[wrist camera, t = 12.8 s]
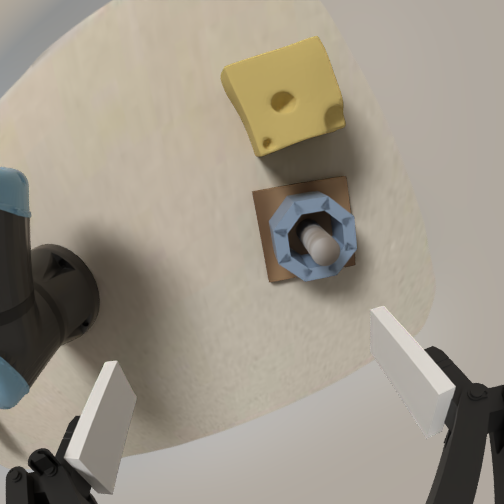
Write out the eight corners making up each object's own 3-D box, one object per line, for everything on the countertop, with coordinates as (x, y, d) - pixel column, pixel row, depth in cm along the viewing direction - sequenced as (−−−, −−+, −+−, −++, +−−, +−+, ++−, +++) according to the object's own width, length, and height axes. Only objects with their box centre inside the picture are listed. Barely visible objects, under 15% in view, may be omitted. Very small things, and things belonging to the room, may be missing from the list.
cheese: (331, 132, 38) (359, 126, 28) (251, 160, 38) (256, 162, 29) (301, 58, 35) (320, 32, 25) (220, 84, 35) (215, 63, 26)
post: (268, 279, 43) (277, 315, 34) (252, 191, 40) (256, 204, 30) (353, 262, 43) (381, 292, 33) (343, 176, 39) (374, 184, 30)
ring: (277, 270, 42) (282, 285, 37) (264, 199, 39) (268, 206, 34) (345, 257, 42) (358, 270, 37) (338, 187, 39) (351, 192, 34)
